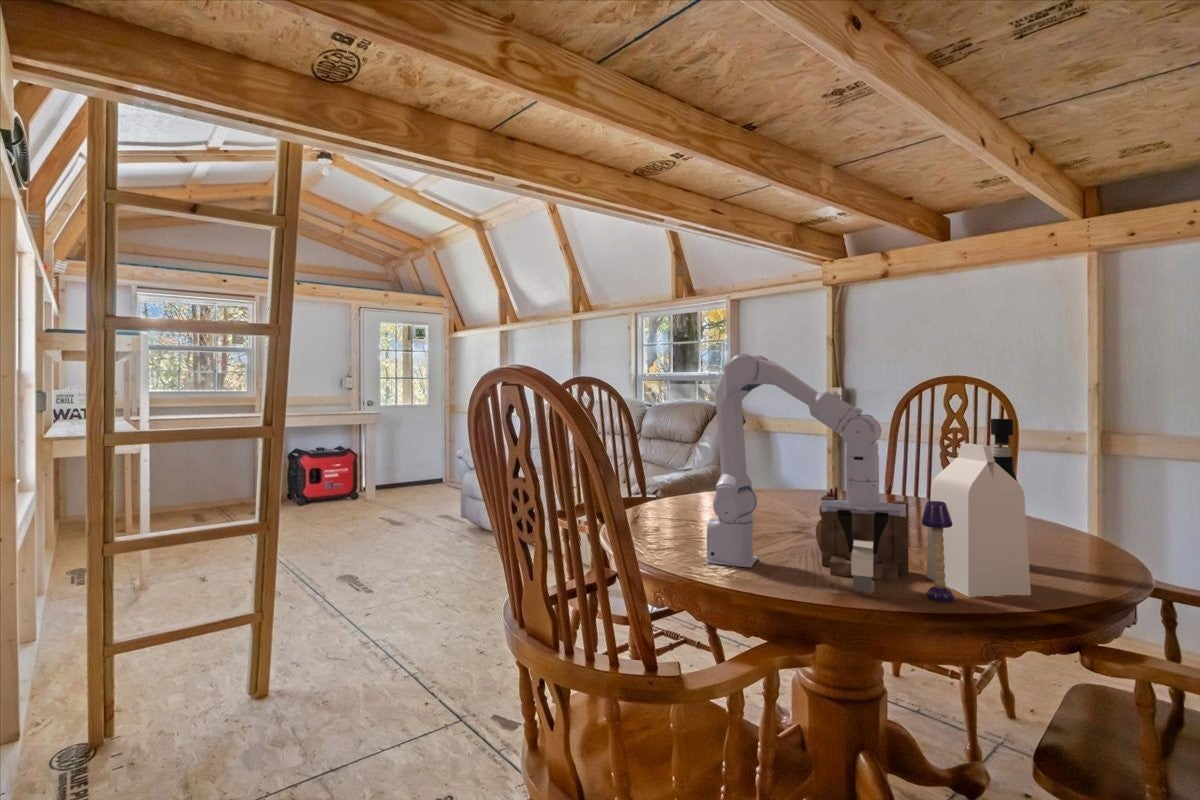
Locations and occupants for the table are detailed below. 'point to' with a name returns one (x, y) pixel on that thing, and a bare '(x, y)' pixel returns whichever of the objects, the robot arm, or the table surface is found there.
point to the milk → (982, 526)
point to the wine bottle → (1003, 454)
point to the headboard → (890, 543)
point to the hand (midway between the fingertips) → (862, 551)
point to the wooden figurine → (818, 527)
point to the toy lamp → (938, 548)
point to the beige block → (862, 564)
